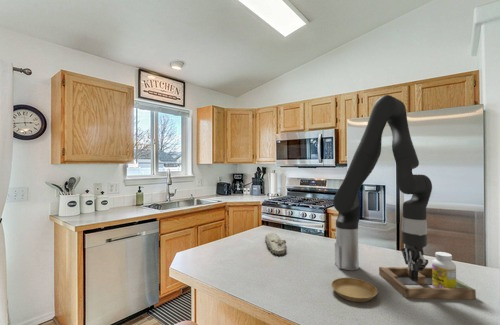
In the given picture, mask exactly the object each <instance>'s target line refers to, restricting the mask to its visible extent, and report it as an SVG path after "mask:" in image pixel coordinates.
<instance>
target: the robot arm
mask: <svg viewBox="0 0 500 325" xmlns="http://www.w3.org/2000/svg"><path fill="white" fill-rule="evenodd" d="M408 123H409V122H408V115H407V109H406V106H405V103H404V102H403V101H402V100H400V99H398V98H396V97H394V96H392V95H390V94H386V95H382V96H380V97H379V98H378V99H377V100H376V101H375V103H374V104H373V106H372V108H371V112H370V115H369V118H368V121H367V124H366V126H365V129H364V133H363V134H362V137H361V139H360V140H359V141H360V142H359V143H358V145H357V147H356V150H355V153H354V155H353V157H352V159H351V161H350V164H349V166H348V168H347V171H346V174H345V176H344V179H343V181H342V183H341V184H340V186H339V188H338V189H337V191H336V193H335V195H334V196H333V200H332V204H333V207H334V209H335V210H336V211H337V212H338V214H337V218H336V220H335V242H334V264H335V266H336V268H338V269H340V270H346V271H357V270H359V268H360V261H359V260H360V259H359V257H360V256H359V253H360V252H359V247H360V246H359V221H360V213H361V212H360V207H361V206H360V198H359V194H358V193H359V191H360V189H361V187H362V186H363V184H364V182H365V181H366V180H367V178H368V177H369V176H370V175H371V173H372V172H373V170H374V168H375V166H376V165H377V163H378V161H379V158H380V156H381V154H382V153H381V152H382V139H383V133H384V130H385V127H386V125H387V124H388V126H389V128H390V131H391V135H392V139H391V140H392V142H391V150H392V154H393V157H394V160H395V164H396V165H395V166H396V185H397V188H398V189H399V191H400V192H401V193H402V194H404V195H411V198H410V199H409V200H405V201H404V202H403V203H402V220H401V243H402V244H404V247H401V248H400V249H401V250H400V252H401V254H402V256H403V260H404V262H405V265H407V267H408V268H409V278H410V279H411V280H412V281H418V271H423V270H424V268H427V266H428V264H429V260H428V258H427V259H426V258H425V257H424V248H425V247H427V246H428V224H427V206H428V204H429V201H430V197H431V195H432V192H433V191H432V190H433V183H432V181H431V179H430V178H429V177H428V176H427V175H425V174H413V170H415V169H416V168H418V167H419V165H420V162H419V158H418V155H417V153H416V152H417V151H416V150H415V147H414V143H413V140H412V136H411V134H410V129H409V128H410V127H409V124H408Z"/></svg>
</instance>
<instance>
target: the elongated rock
mask: <svg viewBox="0 0 500 325" xmlns="http://www.w3.org/2000/svg"><path fill="white" fill-rule="evenodd" d="M264 238H265V240H264V241H265V242H266V245H267V248H268V249H269V250H270V252H271V253H272V254H275V255H276V256H277V255H284V254H285V253H286V252H287V249H288V247H287V245H286V244H287V241H286V240H285V239H281V238H280V236H279V235H278V234H277V233H275V232H270V233H267V234H266V235H265V237H264Z"/></svg>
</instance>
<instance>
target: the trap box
mask: <svg viewBox="0 0 500 325" xmlns="http://www.w3.org/2000/svg"><path fill="white" fill-rule="evenodd" d="M378 275H379V276H380V277H381V278H383V279H384V280H385V281H386V282H387V283H388V284H389V285H390V286H391V287H392V288H394V289H395V290H396V291H397V292H398V293H399V294H400V295H401V296H403V297H404V298H405V299H431V300H432V299H433V300H434V299H435V300H436V299H437V300H438V299H440V300H442V299H444V300H450V299H451V300H455V299H456V300H477V297H476V295H477V292H476V289H475V288H473V287H471V286H469V285H468V284H466V283H464V282H462V281H460V280H459V279H457V278H456V288H433V287H410V286H412V285H416V286H426V285H429V286H433V275H432V267H425V268H424V270H423V271H418V281H412V280H411V279H410V278H409V268H408V266H407V267H405V266H402V267H401V266H400V267H398V266H379V267H378ZM406 285H410V286H409V287H407V286H406Z"/></svg>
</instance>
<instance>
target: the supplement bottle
mask: <svg viewBox="0 0 500 325" xmlns="http://www.w3.org/2000/svg"><path fill="white" fill-rule="evenodd" d="M434 255H435V258H434V259H432V261H431V263H432V264H431V265H432V266H431V268H432V275H433V285H432V288H456V279H457V266H456V264H455V263H454V262H453V261H452V260H453V255H452V254H451V253H449V252H444V251H436V252H435V254H434Z"/></svg>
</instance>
